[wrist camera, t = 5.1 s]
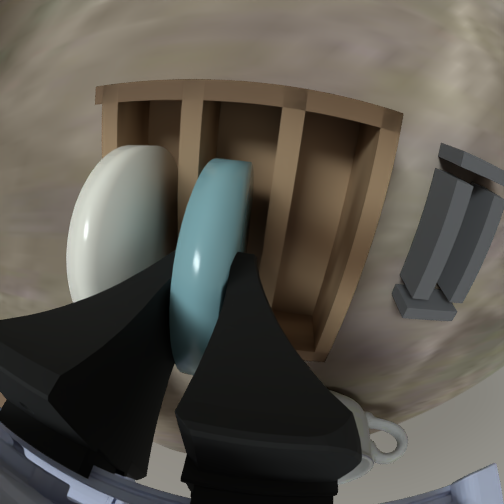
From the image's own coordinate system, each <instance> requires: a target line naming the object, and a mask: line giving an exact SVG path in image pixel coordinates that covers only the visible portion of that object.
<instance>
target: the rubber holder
mask: <svg viewBox="0 0 504 504" xmlns="http://www.w3.org/2000/svg"><path fill="white" fill-rule="evenodd" d="M438 156H439V157H441V158H443V159H445V160H448V161H450V162H452V163H454V164H456V165H458V166H460V167H463V168H465V169H467V170H470V171H472V172H474V173H477V174H479V175H481V176H483V177H486V178H488V179H490V180H492V181H494V182H496V183H498V184H500V185H502V186H504V171H503V170H501V169H500V168H498V167H496V166H494V165H492V164H490V163H488V162H486V161H484V160H482V159H480V158H478V157H476V156H473V155H471V154H469V153H467V152H465V151H462V150H460V149H457V148H454V147H451V146H449V145H446V144H443V143H441V146H440V151H439V155H438ZM503 210H504V199H503V198H501V197H500V196H498V195H497V194H495V193H493V192H492V191H490V190H488V189H487V188H485V187H483V186H481V185H478V184H476V183H474V182H472V183H471V185H470V184H468V183H467V182H465V181H463V180H462V179H460V178H458V177H456V176H454V175H453V174H451V173H448V172H445V171H442V170H439V169H437V168H435V172H434V176H433V180H432V183H431V187H430V191H429V194H428V197H427V201H426V204H425V207H424V211H423V214H422V217H421V220H420V223H419V226H418V229H417V232H416V235H415V237H414V240H413V243H412V246H411V248H410V251H409V253H408V256H407V259H406V261H405V264H404V266H403V269H402V271H401V273H400V276H401V278H402V279H403V281H404V283H405V285H401V284H396V285H395V287H394V290H393V292H392V295H393V298H394V300H395V302H396V304H397V307H398V309H399V311H400V314H401V316H402V318H409V319H423V320H439V321H452V320H453V318H454V317H455V315H456V313H457V311H456V309H455V307H454V306H453V304H452V302H454V303H463V301H464V299H465V297H466V295H467V294H468V292H469V290H470V288H471V286H472V284H473V282H474V280H475V278H476V276H477V274H478V272H479V270H480V268H481V265H482V263H483V261H484V259H485V257H486V254H487V252H488V250H489V247H490V245H491V242H492V240H493V237H494V235H495V232H496V230H497V227H498V224H499V221H500V219H501V216H502V213H503ZM436 283H438V285H439V286H440V288H441V289H442V290H440V289H434V288H435V286H436Z"/></svg>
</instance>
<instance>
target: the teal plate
mask: <svg viewBox="0 0 504 504" xmlns="http://www.w3.org/2000/svg"><path fill="white" fill-rule="evenodd" d="M253 184H254V170H253V164H252V162H248V161H239V160H230V159H221V158H214V159H212V160H211V161H209V162H208V163H207V165H206V166H205V167H204V169H203V170H202V172H201V174H200V175H199V177H198V179H197V182H196V184H195V186H194V188H193V191H192V193H191V196H190V199H189V202H188V204H187V208H186V211H185V214H184V218H183V221H182V225H181V229H180V233H179V238H178V242H177V247H176V253H175V259H174V265H173V272H172V281H171V291H170V307H169V326H170V341H171V348H172V354H173V358H174V361H175V364H176V366H177V368H178V369H179V371H180V372H182V373H185V374H189V375H194V373H195V371H196V369H197V367H198V365H199V363H200V360H201V358H202V356H203V354H204V352H205V349H206V347H207V345H208V342H209V340H210V337H211V335H212V333H213V330H214V328H215V325H216V322H217V320H218V317H219V314H220V312H221V309H222V306H223V303H224V299H225V295H226V289H227V283H228V277H229V272H230V266H231V264H232V261H233V259H234V257H235V255H236V253H237V252H243V253H247V246H248V238H249V230H250V221H251V212H252V201H253Z"/></svg>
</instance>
